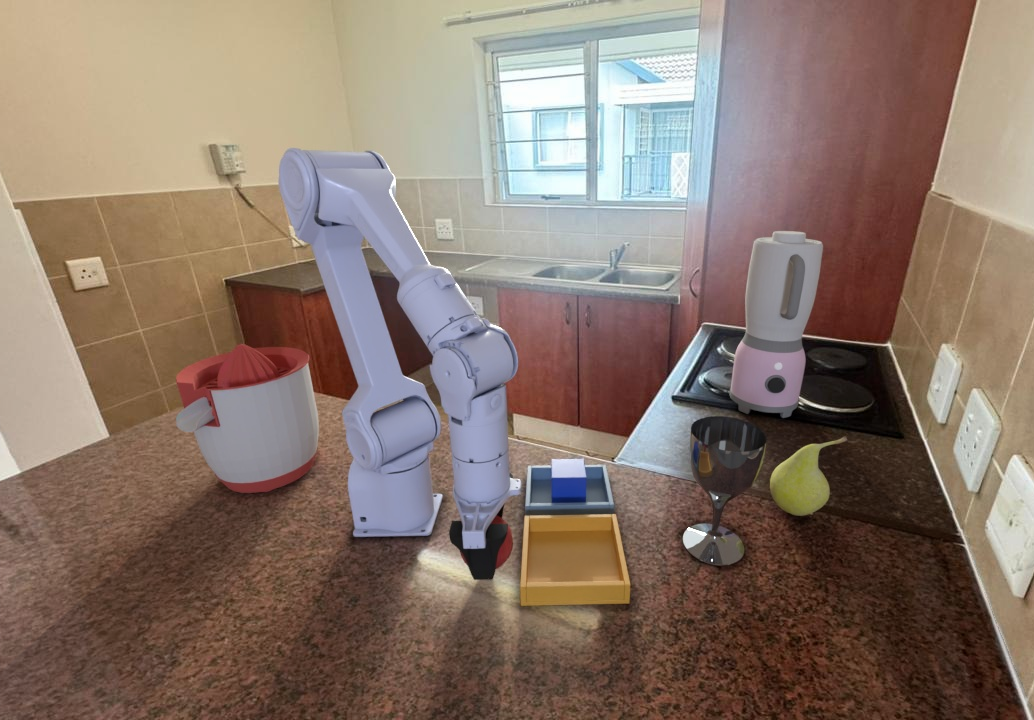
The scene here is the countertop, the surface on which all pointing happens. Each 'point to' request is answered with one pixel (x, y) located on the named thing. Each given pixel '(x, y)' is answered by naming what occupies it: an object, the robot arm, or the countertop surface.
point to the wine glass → (722, 480)
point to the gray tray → (541, 503)
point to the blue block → (568, 481)
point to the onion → (506, 546)
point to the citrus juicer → (252, 415)
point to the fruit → (801, 481)
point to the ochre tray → (573, 561)
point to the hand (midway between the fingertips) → (487, 555)
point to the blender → (776, 322)
